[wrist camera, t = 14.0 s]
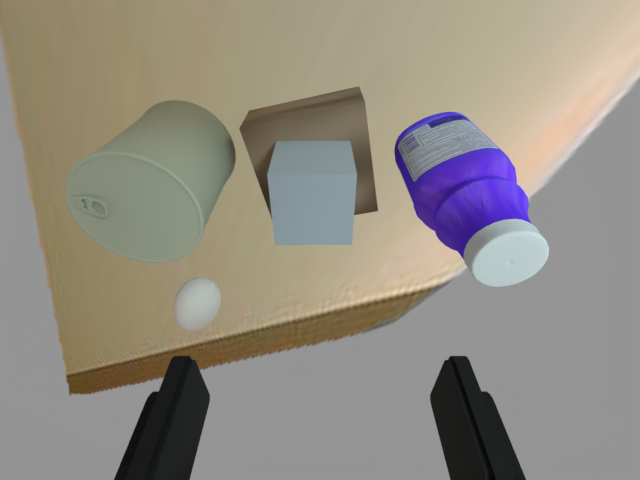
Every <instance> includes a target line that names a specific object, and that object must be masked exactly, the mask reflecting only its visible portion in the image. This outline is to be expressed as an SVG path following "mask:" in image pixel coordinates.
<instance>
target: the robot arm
mask: <svg viewBox="0 0 640 480" xmlns="http://www.w3.org/2000/svg"><path fill="white" fill-rule="evenodd" d="M209 402H210V394H209V391H208V389H207V387H206V384H205V382H204V380H203V377H202V375H201V372H200V370H199V368H198V365H197V363H196V361H195V360H192V359H191V357H190V356H174V357H173V358H172V359H171V361H170V363H169V366H168V369H167V371H166V374H165V376H164V379H163V381H162V384H161V387H160V389H159V391H153V392H152V393H151V394H150V395H149V396H148V398H147V400H146V402H145V404H144V407H143V409H142V412H141V414H140V417H139V419H138V422H137V424H136V426H135V429H134V431H133V434H132V436H131V439H130V441H129V444H128V446H127V449H126V451H125V453H124V456H123V458H122V461H121V463H120V466H119V468H118V471H117V473H116V476H115V478H114V480H190V476H191V473H192V469H193V465H194V461H195V457H196V453H197V449H198V445H199V442H200V438H201V434H202V430H203V426H204V422H205V418H206V414H207V410H208V407H209ZM430 402H431V407H432V410H433V414H434V418H435V422H436V426H437V430H438V434H439V438H440V442H441V445H442V449H443V453H444V457H445V461H446V465H447V469H448V473H449V476H450V480H526V478H525V476H524V473H523V471H522V468H521V466H520V463H519V461H518V458H517V456H516V453H515V451H514V449H513V446H512V444H511V441H510V439H509V436H508V434H507V431H506V429H505V426H504V424H503V422H502V419H501V417H500V414H499V412H498V409H497V407H496V404H495V402H494V400H493V398H492V396H491V395H490V394H489V393H488V392H487V391H481V389H480V387H479V384H478V381H477V379H476V376H475V374H474V371H473V369H472V366H471V363H470V361H469V359H468V358H467V357H466V356H450V357H449V359H448V360H445V361H444V363H443V365H442V368H441V370H440V372H439V375H438V377H437V380H436V382H435V384H434V387H433V389H432V391H431V394H430Z"/></svg>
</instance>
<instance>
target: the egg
mask: <svg viewBox="0 0 640 480" xmlns="http://www.w3.org/2000/svg"><path fill="white" fill-rule="evenodd" d="M220 305H221V292H220V289H219V288H218V286H217V285H216V283H215V282H214V281H212V280H211V279H209V278H205V277H197V278H193V279H191V280H189V281H187V282H186V283H185V284H184V285H183V286H182V287H181V288H180V289H179V291H178V293H177V295H176V297H175V301H174V307H173V310H174V317H175V320H176V322H177V324H178V325H179V326H180V327H181V328H182V329H184V330H186V331H190V332H194V331H198V330H201V329H203V328H204V327H206V326H207V325H208V324H209V323H210V322H211V321H212V320H213V319H214V318H215V316H216V315H217V313H218V311H219V308H220Z"/></svg>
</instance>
